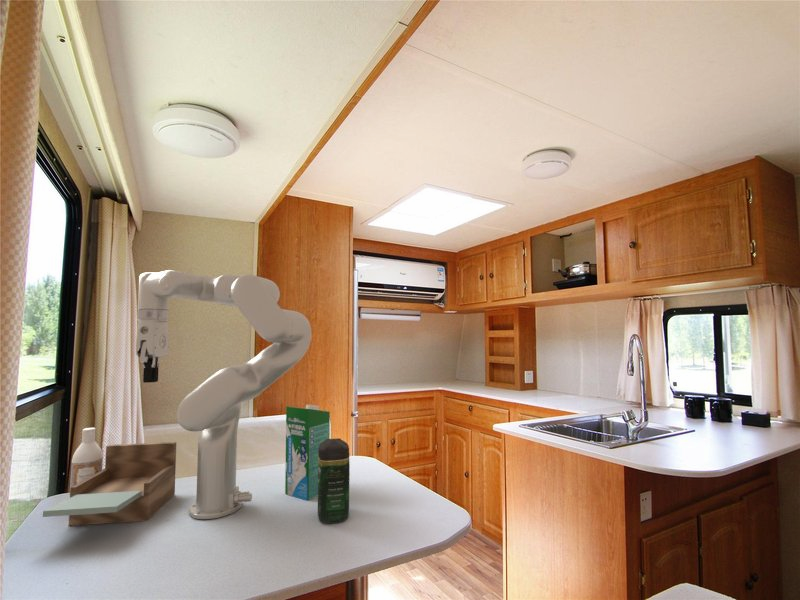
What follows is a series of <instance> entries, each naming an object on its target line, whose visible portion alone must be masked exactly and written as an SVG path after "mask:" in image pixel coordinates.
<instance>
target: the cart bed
mask: <svg viewBox="0 0 800 600" xmlns="http://www.w3.org/2000/svg"><path fill="white" fill-rule="evenodd" d="M104 463H105V465H104V469H103V468H102V470H101V471H99V472H98V473H96V474H94V475H92V476H90V477H89V478H87V479H85V480H83V481H81V482H80V483H78V484H76V485H74V486H73V487H71V489H70V488H69V498H71V497H73V496H75V495H78V494H95V493H112V492H129V491H142V493H141V496H140V497H139V498H137V499H136V500H134V501H133V502H131V503H130V504H128V505H126V506H125V507H123V508H122V509H120V510H119V511H117V512H111V513H96V514H81V515H68V526H69V525H72V526H86V525H98V524H101V525H102V524H114V523H115V522H116V523H127V522H129V523H130V522H131V523H132V522H142V520H145V521H149V520H150V519H151V518H152V517H153V516H154V515H155V514H156V513H158V511H159V510H161V508H163V507H164V506H165V505H166V504H167V503H168V502H169V501H170V500H171V499H172V498H173V497H174V496H175V494H176V468H177V467H176V463H177V441H168V442H167V441H166V442H165V441H164V442H163V441H162V442H147V443H142V442H141V443H123V444H122V443H120V444H109V445H106V447H105V462H104ZM164 504H165V505H164ZM163 505H164V506H163ZM148 519H149V520H148Z"/></svg>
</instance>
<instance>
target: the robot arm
mask: <svg viewBox="0 0 800 600" xmlns="http://www.w3.org/2000/svg"><path fill="white" fill-rule="evenodd" d="M280 296H281V294H280V289H279V287H278V285H277V284H276V283H275V282H274V281H273V280H270V279H268V278H266V277H262V276H257V275H253V274H245V275H233V274H222V275H220V276H218V277H217V276H216V277H213V276H205V275H199V274H198V275H197V274H193V273H188V272H185V271H184V272H183V271H179V270H174V269H172V270H171V269H168V270H164V271H163V270H162V271H159V272H143V273H141V274H140V275H139V277H138V296H137V298H138V299H137V314H136V315H137V322H138V324H137V332H136V338H135V339H136V340H135V354H136V357H138V358H139V362H141V363H142V368H143V375H142V376H143V377H142V379H143V380H142V382H143V383H145V384H146V383H157V382H159V368H160V361H161V360H162V359H163V357H166V356H167V355H169V354H170V350H169V349H170V337H169V336H170V335H169V331H170V330H169V324H168V322H169V312H170V311H169V309H170V298H174V299H183V300H190V301H200V302H201V301H202V302H209V303H217V304H218V305H220V306H228V307H237V308H238V310H239V312H240V313H241V314H242V315H243V317H244V318H245V320H247V322H248V323H249V324H250V326H251V327H252V328H253V330H255V332H256V333H257V334H258V336H259V337H261V339H264V340H265V341H266V342H269V343H272V344H271V345H268V346H267V347H265V348H264V349H263V350H261V351H259V353H258V354H256V355H255V356H254V357H253V358H251V359H250V360H248V361H246V362H244V363H242V364H237V365H230V366H228V367H227V366H226V367H224V368H222V369H220V370H217V371H216V372H214V373H213V374H212V375H210V376H209V377H208V378H207V379H206V380H204V381H203V382H202V383H200V384H199V385H198V386H197V387H195V388H194V389H193V390H192V391H190V392H189V394H187V395H186V396H185V397H183V399H182V401H181V402H180V403H179V406H178V408H177V411H176V417H177V422H178V424H179V425H180V427H182V428H183V429H184V430H186V431H189V432H195V433H196V432H199V436H198V442H197V462H196V464H197V467H196V468H197V469H196V499H195V500H196V501H195V502H194V503H193V504H192V505H191V506H190V507H189V509H188V510H189V511H188V513H189V514H188V515H189V516H190V517H191V518H193V519H197V520H198V519H199V520H211V519H217V518H222V517H225V516H229V515H231V514H233V513H235V512H236V511H238V510H239V509H240V508H242V503H247V502H252V499H253V493H250V491H249V490H247V491H241V490H240V486H238V485H237V448H238V444H237V443H238V429H239V428H238V427H239V420H240V415H241V409H242V403H245V402H248V401H251V400H253V399H255V398H257V397H259V396H260V395H261V394H262V393H263V392H264V391H265V390H267V389H268V388H269V387H270V386H272V385H273V384H274V383H275V382H276V381H278V380H279V379H280V378H281V377H282V376H284V375H285V374H286V373H287V372H288V371H290V370H291V369H292V368H294V366H296V364H298V363H299V362H300V360H301V359H302V358H303V357H304V356H305V355H306V353H307V351H308V350H309V347H310V344H311V341H312V328H311V324H310V321H309V319H308V318H307V317H306V315H304V314H303V313H301V312H299V311H296V310H290V309H282V308H281V306H279V304H278V302H279V301H280V300H279V299H280Z"/></svg>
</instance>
